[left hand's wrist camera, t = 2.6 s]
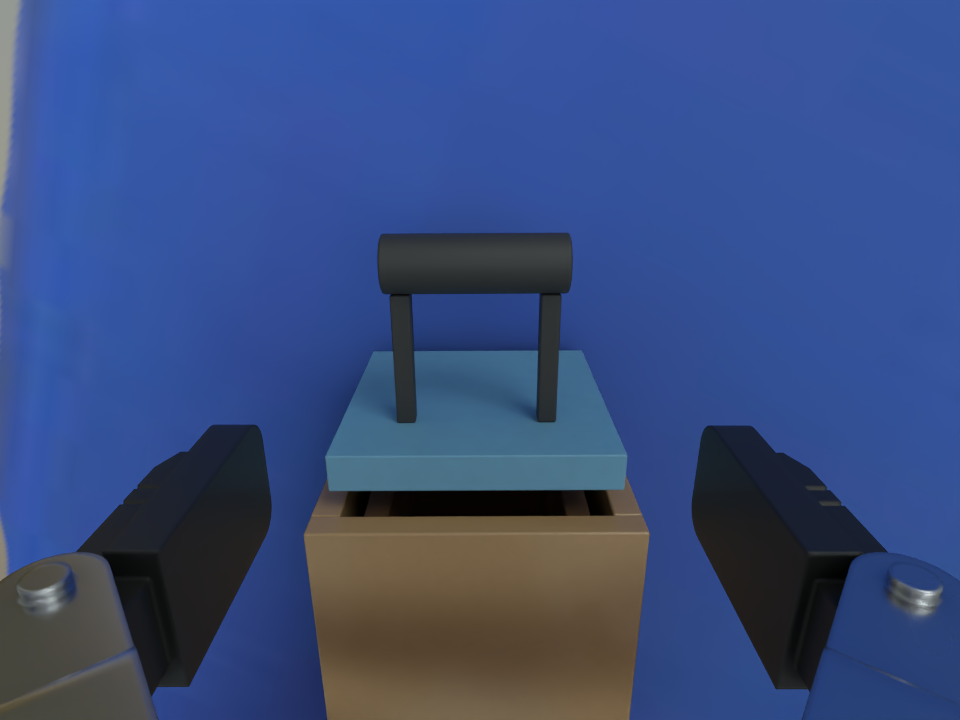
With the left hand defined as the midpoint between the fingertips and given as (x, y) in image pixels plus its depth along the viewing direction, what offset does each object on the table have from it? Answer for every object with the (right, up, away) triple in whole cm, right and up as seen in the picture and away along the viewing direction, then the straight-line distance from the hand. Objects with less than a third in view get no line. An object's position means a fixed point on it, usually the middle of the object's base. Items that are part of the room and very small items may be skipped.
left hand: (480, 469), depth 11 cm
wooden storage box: (0, -9, +20) cm, 22 cm away
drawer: (0, -4, +17) cm, 18 cm away
